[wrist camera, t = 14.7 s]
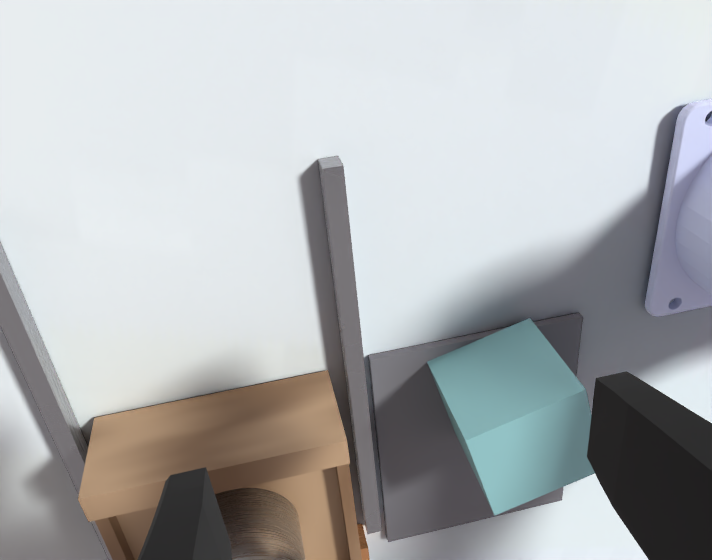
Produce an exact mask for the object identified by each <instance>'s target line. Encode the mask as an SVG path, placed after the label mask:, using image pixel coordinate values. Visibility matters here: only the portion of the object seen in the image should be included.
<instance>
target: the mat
mask: <svg viewBox="0 0 712 560" xmlns="http://www.w3.org/2000/svg"><path fill="white" fill-rule="evenodd" d="M582 320H583V317H582V316H581V315H580V313H575V314H570V315H565V316H560V317H555V318H550V319H545V320H540V321H535V322H533V323H534V324H535V325H536V326H537V328H538V329H539V330H540V331H541V333H542V334H543V335H544V337H545V338H546V339H547V340H548V342H549V343H550V344H551V346H552V347H553V348H554V349H555V351H556V352H557V353H558V354H559V356H560V357H561V358H562V360H563V361H564V362H565V363H566V365H567V366H568V367H569V369H570V370H571V371H572V372H573V374H574V375H575V376H576V373H577V364H578V355H579V347H580V338H581V329H582ZM506 328H507V327H506ZM503 329H505V328H501V329H496V330H491V331H486V332H481V333H476V334H471V335H466V336H461V337H456V338H451V339H446V340H441V341H436V342H431V343H426V344H421V345H416V346H411V347H407V348H402V349H397V350H392V351H387V352H382V353H377V354H372V355H368V357H369V367H370V377H371V387H372V397H373V406H374V416H375V426H376V436H377V446H378V456H379V466H380V476H381V486H382V496H383V506H384V516H385V526H386V536H387V540H388V542H391V541H395V540H399V539H403V538H407V537H411V536H415V535H420V534H424V533H428V532H432V531H436V530H440V529H445V528H449V527H453V526H457V525H461V524H465V523H469V522H474V521H478V520H482V519H486V518H490V517H494V516H498V515H503V514H507V513H511V512H515V511H519V510H523V509H528V508H532V507H536V506H540V505H544V504H548V503H552V502H557V501H561V500H562V495H563V487H561V488H559V489H557V490H554V491H552V492H550V493H547V494H545V495H542V496H540V497H538V498H535V499H533V500H531V501H528V502H526V503H524V504H521V505H519V506H516V507H514V508H512V509H509V510H507V511H505V512H502V513H500V514H498V515H494V513H493V511H492V509H491V507H490V505H489V503H488V501H487V498H486V496H485V494H484V492H483V490H482V488H481V486H480V484H479V482H478V480H477V478H476V475H475V473H474V471H473V469H472V467H471V465H470V463H469V461H468V459H467V457H466V454H465V452H464V450H463V448H462V446H461V444H460V442H459V440H458V438H457V436H456V433H455V431H454V428H453V426H452V423H451V421H450V418H449V416H448V413H447V411H446V408H445V406H444V403H443V401H442V398H441V396H440V393H439V391H438V388H437V386H436V383H435V381H434V378H433V375H432V373H431V370H430V368H429V365H428V363H427V362H428V361H430V360H432V359H435V358H437V357H440V356H442V355H444V354H447V353H449V352H451V351H454V350H456V349H458V348H461V347H463V346H465V345H468V344H470V343H472V342H475V341H477V340H479V339H482V338H484V337H486V336H489V335H491V334H493V333H496V332H498V331H500V330H503Z"/></svg>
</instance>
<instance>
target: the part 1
mask: <svg viewBox="0 0 712 560" xmlns="http://www.w3.org/2000/svg"><path fill="white" fill-rule="evenodd" d="M215 496H216V500H217V503H218V506H219V509H220V512H221V515H222V518H223V521H224V524H225V527H226V530H227V533H228V536H229V539H230V542H231V552H232V560H305V554H304V547H303V541H302V535H301V529H300V523H299V517H298V513H297V511H296V508H295V507H294V505H293V504H292V503H291V502H290V501H289V500H288V499H287V498H285V497H284V496H282V495H280V494H278V493H276V492H273V491H270V490H266V489H260V488H239V489H234V490H229V491H225V492H221V493H218V494H216V495H215Z"/></svg>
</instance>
